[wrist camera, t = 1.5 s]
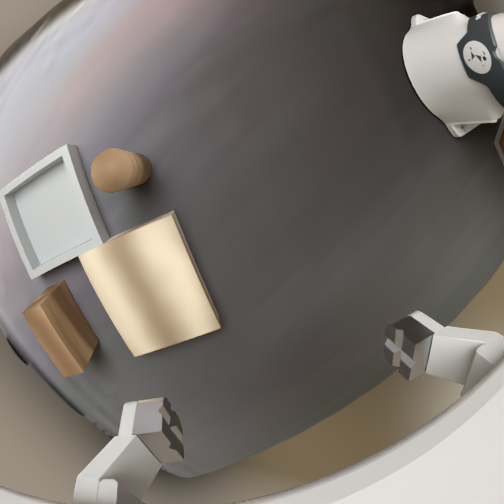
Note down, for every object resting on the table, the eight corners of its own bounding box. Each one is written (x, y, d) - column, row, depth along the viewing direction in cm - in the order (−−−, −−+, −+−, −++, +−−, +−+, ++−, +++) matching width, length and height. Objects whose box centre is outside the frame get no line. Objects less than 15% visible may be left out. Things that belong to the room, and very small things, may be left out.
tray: (76, 145, 22) (66, 143, 19) (110, 237, 25) (103, 243, 23) (9, 189, 21) (-3, 192, 19) (41, 271, 24) (31, 279, 22)
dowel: (145, 148, 23) (123, 140, 16) (156, 178, 24) (137, 181, 17) (117, 161, 23) (85, 159, 16) (127, 190, 24) (99, 200, 17)
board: (174, 209, 26) (171, 214, 23) (218, 313, 30) (221, 328, 27) (88, 247, 25) (78, 256, 22) (138, 341, 29) (134, 356, 26)
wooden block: (64, 280, 25) (40, 304, 20) (98, 340, 28) (84, 372, 22) (46, 288, 25) (21, 313, 19) (80, 345, 28) (64, 377, 22)
